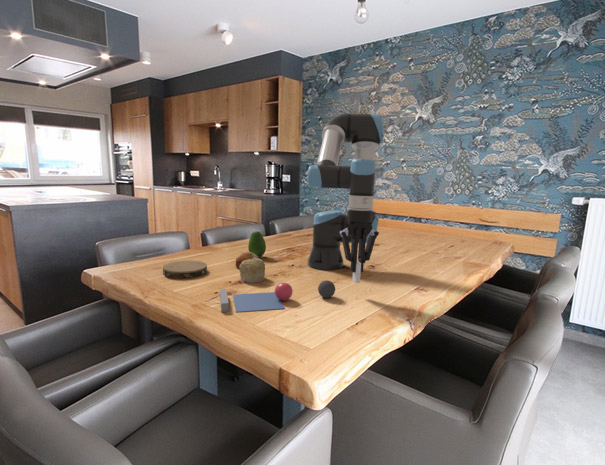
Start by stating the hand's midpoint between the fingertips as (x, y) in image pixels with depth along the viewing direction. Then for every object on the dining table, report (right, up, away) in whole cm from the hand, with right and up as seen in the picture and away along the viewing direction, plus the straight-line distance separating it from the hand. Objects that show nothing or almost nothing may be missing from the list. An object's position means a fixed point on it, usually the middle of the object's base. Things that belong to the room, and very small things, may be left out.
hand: (356, 281), depth 114 cm
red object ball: (-23, -2, -5) cm, 24 cm away
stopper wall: (-41, -5, -9) cm, 42 cm away
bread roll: (-40, +1, +31) cm, 51 cm away
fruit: (-38, +5, +47) cm, 61 cm away
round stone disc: (-62, 0, +21) cm, 66 cm away
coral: (-36, -1, +15) cm, 39 cm away
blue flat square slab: (-31, -5, -7) cm, 32 cm away
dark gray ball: (-10, -2, -2) cm, 10 cm away
